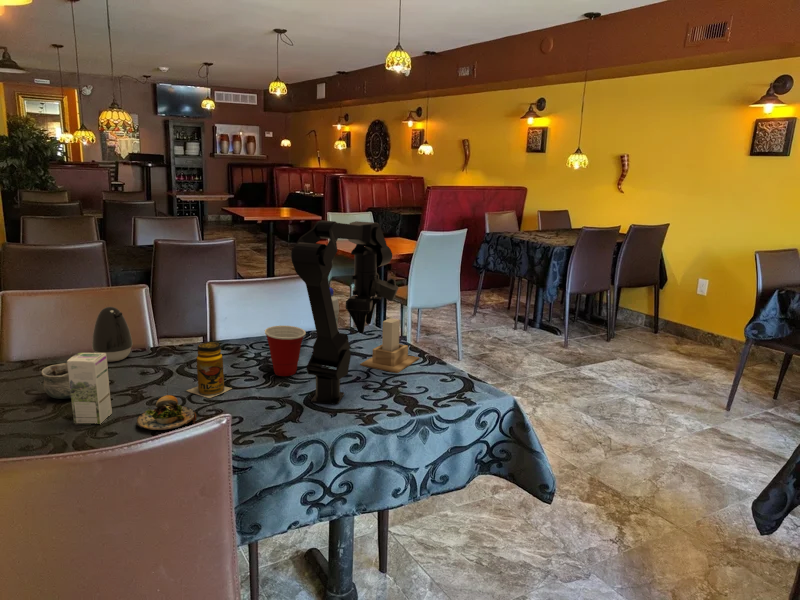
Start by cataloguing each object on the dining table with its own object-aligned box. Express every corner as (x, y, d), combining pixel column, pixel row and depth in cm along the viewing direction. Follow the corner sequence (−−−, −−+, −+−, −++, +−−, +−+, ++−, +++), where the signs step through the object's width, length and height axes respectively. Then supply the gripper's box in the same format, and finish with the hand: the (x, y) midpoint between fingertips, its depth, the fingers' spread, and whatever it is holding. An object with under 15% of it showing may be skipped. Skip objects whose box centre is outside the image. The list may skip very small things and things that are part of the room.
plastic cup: (293, 382, 148) (293, 337, 145) (257, 376, 151) (256, 332, 149) (313, 369, 158) (313, 327, 155) (279, 364, 161) (278, 323, 159)
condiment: (210, 398, 136) (207, 350, 134) (185, 391, 140) (182, 344, 138) (232, 389, 142) (230, 343, 140) (208, 382, 147) (206, 337, 144)
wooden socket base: (397, 373, 157) (397, 357, 156) (359, 365, 162) (360, 350, 161) (419, 359, 169) (419, 344, 168) (383, 352, 174) (384, 338, 173)
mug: (53, 389, 139) (48, 350, 137) (109, 386, 142) (105, 348, 140) (37, 405, 130) (32, 363, 128) (97, 402, 133) (93, 361, 131)
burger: (124, 433, 118) (121, 399, 117) (156, 410, 130) (154, 379, 128) (178, 438, 117) (176, 404, 115) (206, 415, 128) (204, 383, 126)
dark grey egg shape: (107, 367, 155) (102, 313, 152) (85, 360, 161) (80, 307, 157) (141, 357, 164) (137, 306, 161) (119, 351, 169) (115, 301, 166)
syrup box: (113, 414, 126) (107, 351, 123) (100, 425, 121) (94, 360, 118) (86, 413, 126) (80, 351, 123) (72, 425, 121) (65, 360, 117)
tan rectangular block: (391, 363, 163) (392, 322, 160) (382, 361, 164) (382, 321, 161) (398, 359, 167) (399, 319, 164) (389, 357, 168) (390, 318, 165)
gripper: (389, 278, 138) (388, 340, 142) (401, 266, 156) (400, 321, 160) (345, 276, 140) (345, 337, 143) (361, 264, 158) (361, 318, 161)
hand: (365, 328), depth 152 cm, fingers open, 9 cm apart
